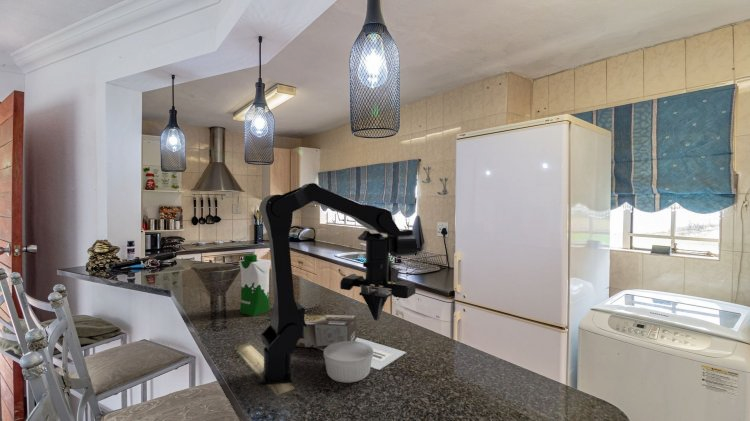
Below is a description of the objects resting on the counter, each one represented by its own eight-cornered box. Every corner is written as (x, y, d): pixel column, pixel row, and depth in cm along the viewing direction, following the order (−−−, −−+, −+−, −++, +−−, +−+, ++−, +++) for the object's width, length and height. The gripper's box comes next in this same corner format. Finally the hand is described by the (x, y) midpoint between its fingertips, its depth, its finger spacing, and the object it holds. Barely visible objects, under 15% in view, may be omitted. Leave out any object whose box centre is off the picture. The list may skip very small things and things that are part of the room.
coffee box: (289, 347, 93) (348, 351, 90) (288, 322, 93) (347, 325, 90) (303, 335, 102) (357, 338, 99) (303, 313, 102) (357, 315, 99)
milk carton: (236, 313, 121) (236, 254, 121) (257, 306, 129) (257, 251, 129) (252, 317, 117) (253, 257, 116) (274, 310, 124) (274, 254, 124)
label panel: (406, 352, 91) (406, 351, 91) (379, 370, 81) (379, 369, 81) (341, 333, 103) (341, 332, 103) (311, 346, 94) (311, 345, 94)
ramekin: (326, 361, 85) (326, 340, 85) (373, 362, 85) (373, 340, 85) (319, 385, 74) (319, 360, 74) (373, 386, 74) (373, 361, 74)
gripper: (423, 256, 91) (423, 317, 92) (361, 251, 100) (360, 306, 100) (406, 263, 81) (406, 330, 82) (339, 256, 90) (338, 317, 91)
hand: (376, 319), depth 89 cm, fingers closed
